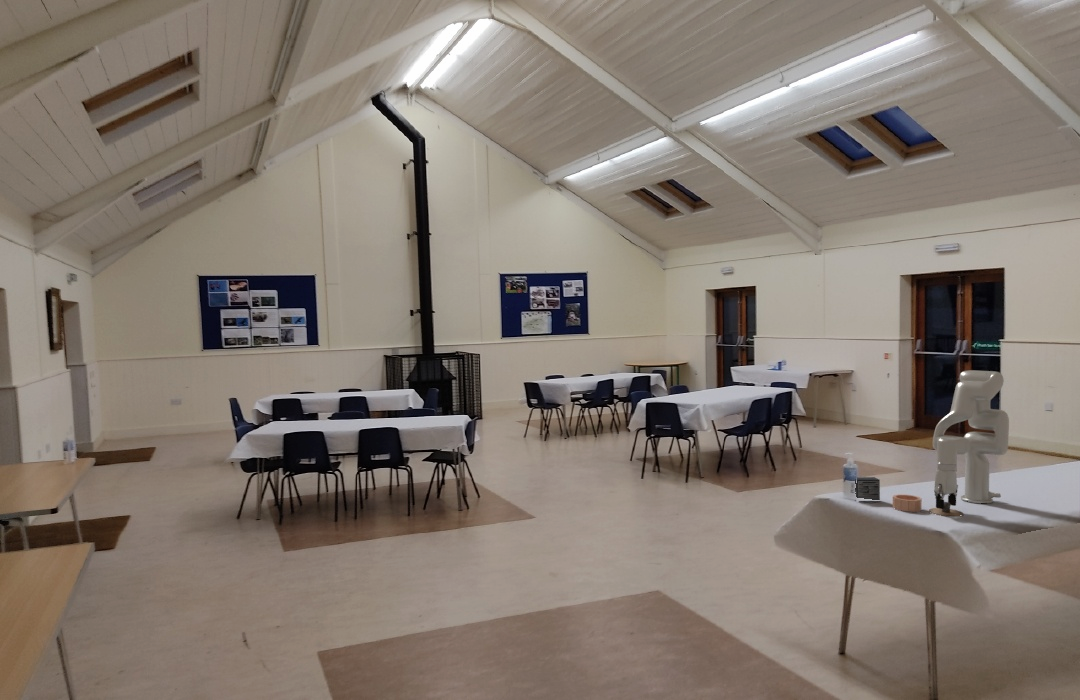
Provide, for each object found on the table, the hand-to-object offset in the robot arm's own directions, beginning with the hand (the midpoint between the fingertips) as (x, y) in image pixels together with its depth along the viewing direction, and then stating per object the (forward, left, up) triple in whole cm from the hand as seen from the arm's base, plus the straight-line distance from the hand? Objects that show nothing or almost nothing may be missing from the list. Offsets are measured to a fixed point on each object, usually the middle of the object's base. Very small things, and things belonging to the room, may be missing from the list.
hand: (946, 506), depth 316 cm
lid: (0, 0, -3) cm, 3 cm away
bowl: (+14, -6, -3) cm, 15 cm away
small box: (+27, -20, -3) cm, 33 cm away
